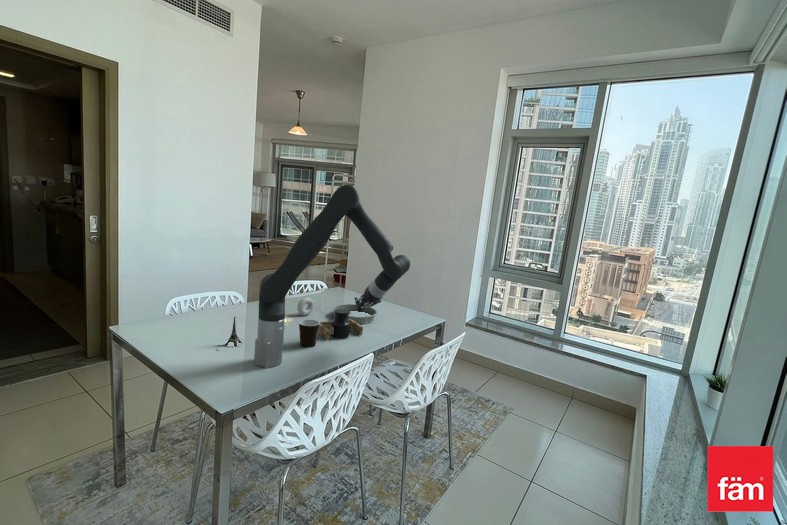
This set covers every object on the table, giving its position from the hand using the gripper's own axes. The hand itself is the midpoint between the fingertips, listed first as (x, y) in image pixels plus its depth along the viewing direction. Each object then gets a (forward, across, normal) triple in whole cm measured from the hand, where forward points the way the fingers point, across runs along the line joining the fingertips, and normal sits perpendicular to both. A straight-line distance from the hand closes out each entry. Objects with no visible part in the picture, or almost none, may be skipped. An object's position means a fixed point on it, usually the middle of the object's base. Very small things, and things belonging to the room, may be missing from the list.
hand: (359, 309), depth 162 cm
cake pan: (+38, -20, -14) cm, 45 cm away
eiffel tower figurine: (+26, +46, 0) cm, 53 cm away
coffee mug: (+19, +17, +6) cm, 26 cm away
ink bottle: (+22, 0, +2) cm, 22 cm away
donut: (+45, +4, -21) cm, 50 cm away
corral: (+24, 0, 0) cm, 24 cm away
